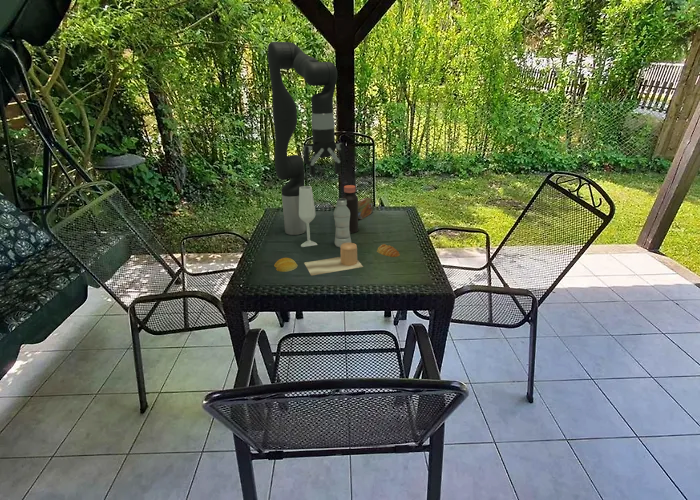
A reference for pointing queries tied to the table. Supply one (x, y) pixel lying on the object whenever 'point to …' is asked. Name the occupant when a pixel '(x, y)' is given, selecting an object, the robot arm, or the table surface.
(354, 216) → the vinegar
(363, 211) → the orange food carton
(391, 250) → the pastry
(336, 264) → the board
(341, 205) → the plastic bottle
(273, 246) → the table surface
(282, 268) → the bread roll
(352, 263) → the cap
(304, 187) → the champagne flute
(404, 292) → the table surface
